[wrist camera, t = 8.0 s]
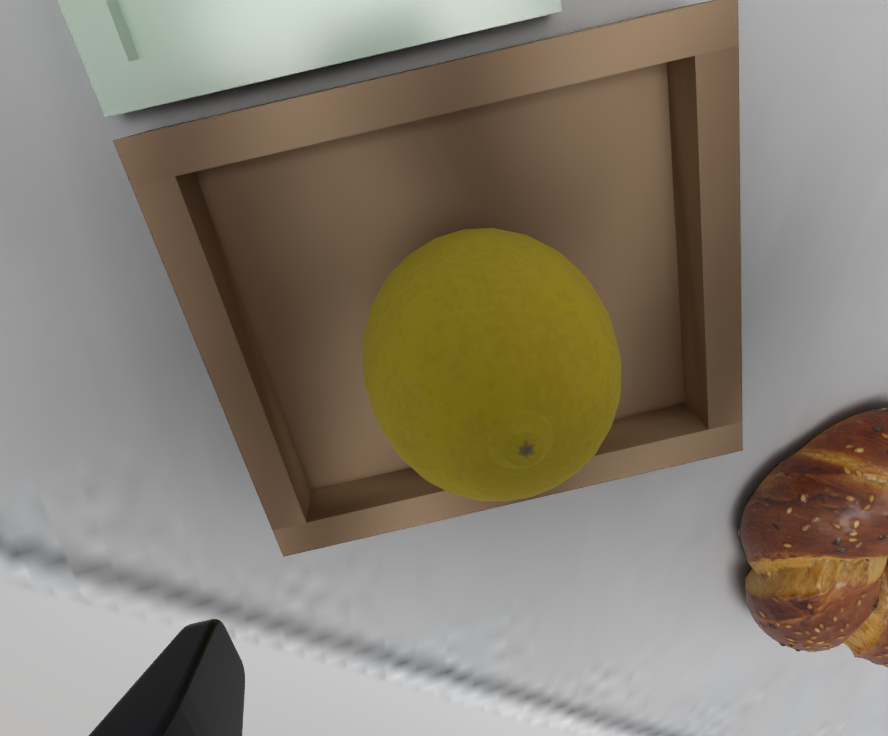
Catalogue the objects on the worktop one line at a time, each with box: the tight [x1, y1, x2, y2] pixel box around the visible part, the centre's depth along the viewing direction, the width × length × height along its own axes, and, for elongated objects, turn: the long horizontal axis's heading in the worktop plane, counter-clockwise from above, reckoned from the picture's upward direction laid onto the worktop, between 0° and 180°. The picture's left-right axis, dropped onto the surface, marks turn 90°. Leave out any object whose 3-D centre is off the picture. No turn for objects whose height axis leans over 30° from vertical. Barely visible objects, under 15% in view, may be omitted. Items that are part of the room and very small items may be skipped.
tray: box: [113, 0, 743, 557], centre depth 18 cm, size 14×12×3 cm
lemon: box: [363, 228, 621, 502], centre depth 15 cm, size 6×6×8 cm
